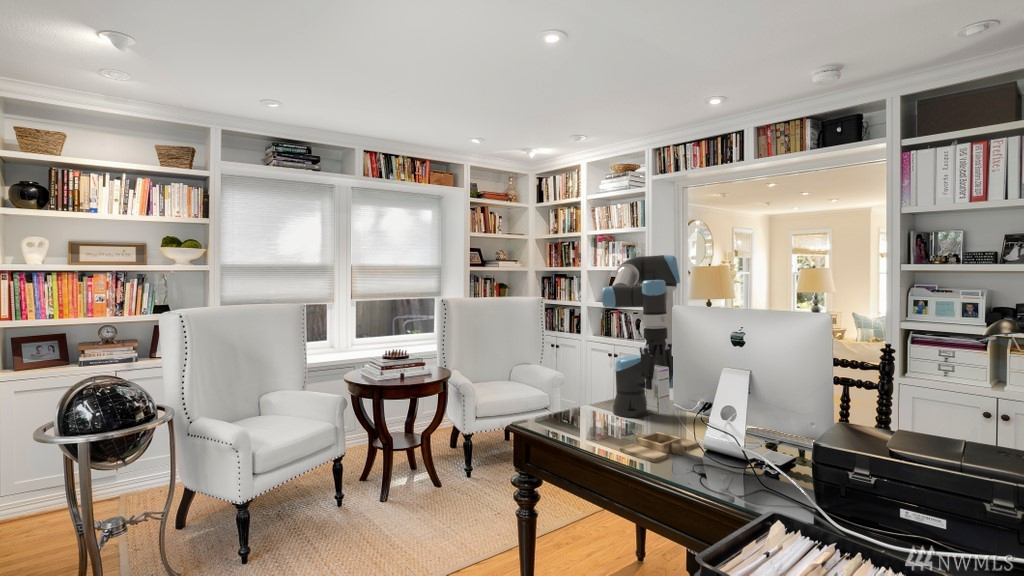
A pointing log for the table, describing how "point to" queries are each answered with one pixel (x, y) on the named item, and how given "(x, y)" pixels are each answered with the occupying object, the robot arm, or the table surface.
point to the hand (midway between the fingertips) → (657, 397)
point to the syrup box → (660, 391)
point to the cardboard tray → (658, 446)
